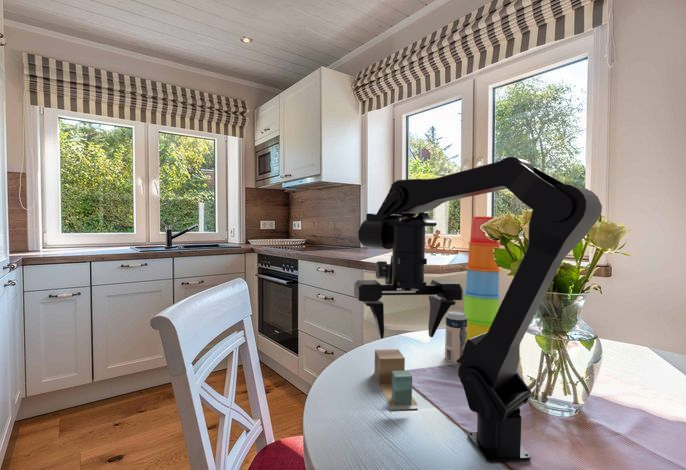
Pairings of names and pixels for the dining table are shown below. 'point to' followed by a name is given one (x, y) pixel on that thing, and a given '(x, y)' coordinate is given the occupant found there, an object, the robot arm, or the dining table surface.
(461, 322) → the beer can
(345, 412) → the dining table surface
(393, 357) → the walnut cube
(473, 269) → the stacking cups
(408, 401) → the green toy block
